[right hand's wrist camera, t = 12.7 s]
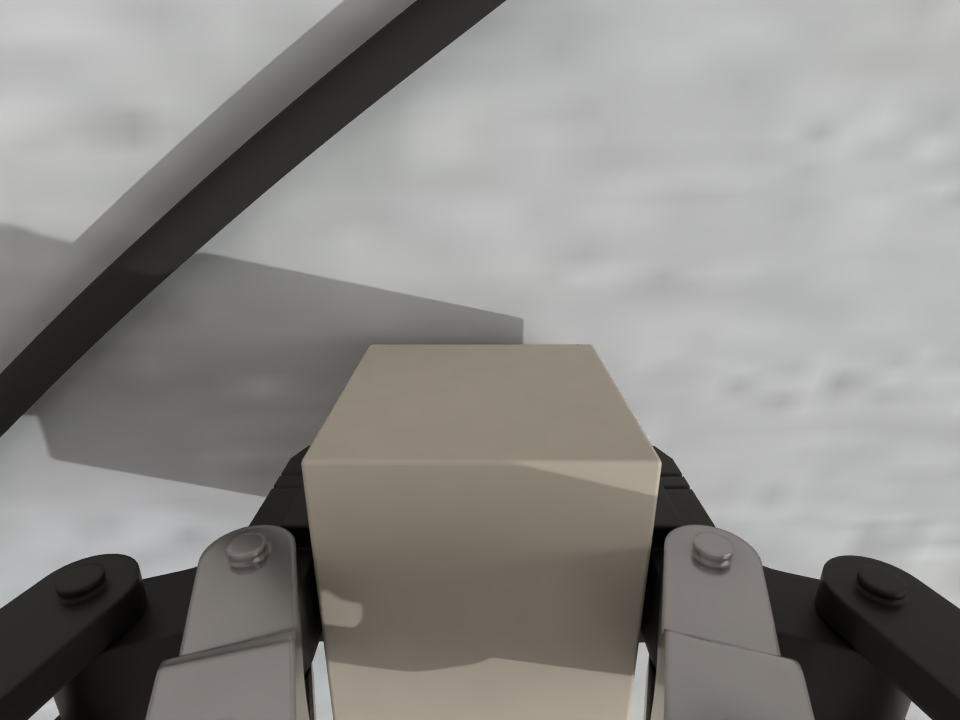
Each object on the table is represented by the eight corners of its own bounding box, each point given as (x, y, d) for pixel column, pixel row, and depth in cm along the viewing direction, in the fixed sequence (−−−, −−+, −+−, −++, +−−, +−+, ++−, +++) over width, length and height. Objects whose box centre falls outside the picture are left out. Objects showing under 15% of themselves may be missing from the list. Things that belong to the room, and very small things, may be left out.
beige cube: (593, 343, 12) (664, 460, 7) (578, 543, 13) (627, 738, 9) (368, 343, 12) (298, 461, 7) (383, 543, 13) (334, 738, 9)
